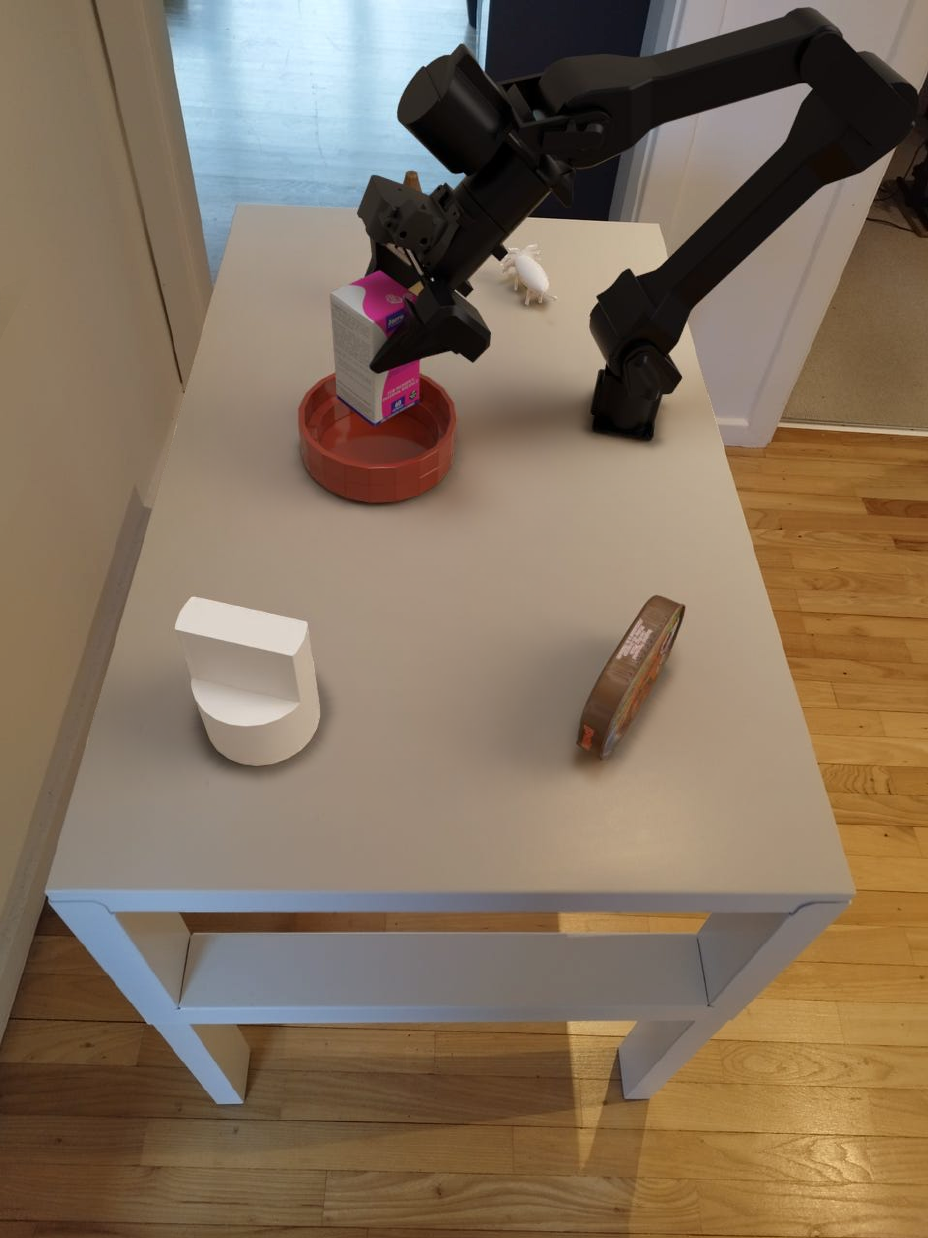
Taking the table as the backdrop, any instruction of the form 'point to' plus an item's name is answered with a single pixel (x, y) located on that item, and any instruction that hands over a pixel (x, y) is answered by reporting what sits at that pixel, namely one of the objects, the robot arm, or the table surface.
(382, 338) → the supplement box
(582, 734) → the tin
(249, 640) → the base with upright slab
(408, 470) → the bowl
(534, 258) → the white animal figurine
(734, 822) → the table surface
